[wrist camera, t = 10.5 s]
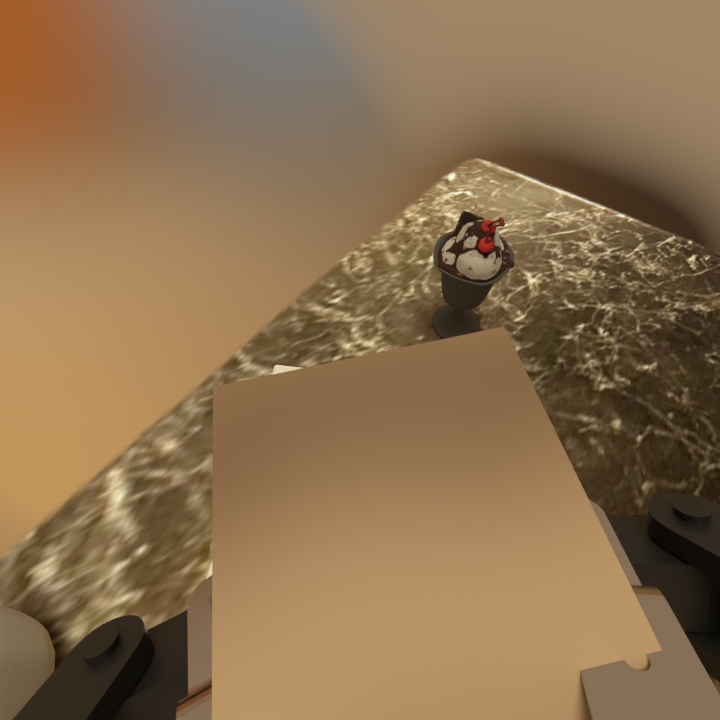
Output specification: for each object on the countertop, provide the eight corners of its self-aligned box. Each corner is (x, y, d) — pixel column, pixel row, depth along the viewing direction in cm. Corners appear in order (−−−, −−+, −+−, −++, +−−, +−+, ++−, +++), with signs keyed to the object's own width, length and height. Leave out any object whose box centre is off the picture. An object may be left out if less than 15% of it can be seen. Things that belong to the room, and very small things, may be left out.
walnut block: (478, 617, 13) (692, 711, 4) (340, 649, 13) (211, 832, 4) (436, 476, 16) (504, 326, 6) (320, 502, 16) (213, 387, 6)
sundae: (472, 359, 38) (515, 247, 25) (414, 332, 40) (425, 217, 27) (497, 314, 41) (547, 191, 28) (441, 291, 43) (463, 167, 30)
